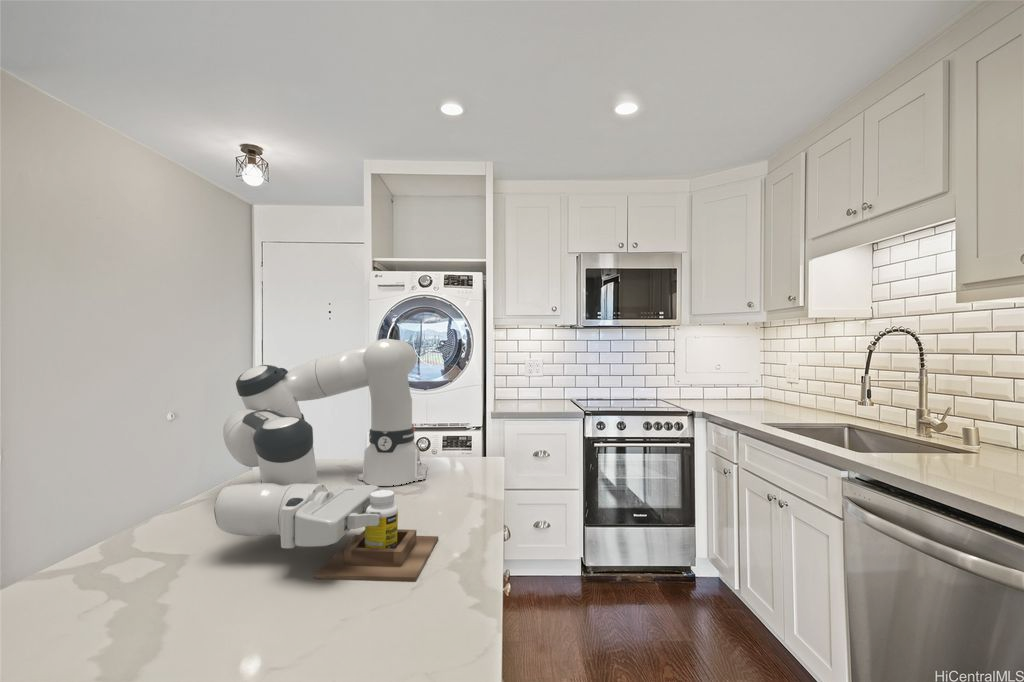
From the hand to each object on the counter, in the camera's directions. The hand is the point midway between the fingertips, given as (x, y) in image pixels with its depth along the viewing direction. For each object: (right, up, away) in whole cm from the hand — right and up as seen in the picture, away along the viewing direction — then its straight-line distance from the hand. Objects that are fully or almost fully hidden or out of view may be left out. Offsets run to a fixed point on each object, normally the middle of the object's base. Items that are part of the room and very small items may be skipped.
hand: (386, 512), depth 80 cm
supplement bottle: (-1, -7, 0) cm, 7 cm away
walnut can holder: (-1, -8, 0) cm, 8 cm away
